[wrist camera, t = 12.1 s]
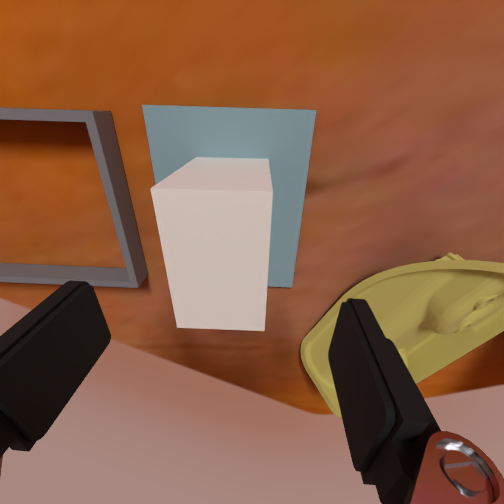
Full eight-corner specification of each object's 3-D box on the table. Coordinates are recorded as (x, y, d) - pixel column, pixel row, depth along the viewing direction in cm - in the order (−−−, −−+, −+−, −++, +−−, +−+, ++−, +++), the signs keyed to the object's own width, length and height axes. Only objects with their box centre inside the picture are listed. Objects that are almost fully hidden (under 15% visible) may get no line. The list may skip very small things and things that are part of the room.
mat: (314, 110, 16) (316, 110, 15) (291, 284, 23) (291, 287, 22) (145, 105, 16) (142, 104, 15) (174, 279, 23) (172, 282, 22)
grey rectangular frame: (110, 111, 16) (92, 110, 14) (148, 274, 23) (138, 287, 21) (-134, 103, 16) (-180, 102, 15) (-27, 267, 23) (-50, 279, 21)
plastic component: (390, 399, 28) (329, 424, 22) (350, 340, 32) (293, 349, 27) (589, 279, 17) (560, 274, 12) (485, 219, 22) (433, 196, 17)
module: (268, 158, 17) (273, 191, 10) (263, 257, 21) (264, 330, 14) (196, 157, 17) (150, 188, 10) (205, 256, 21) (177, 327, 14)
